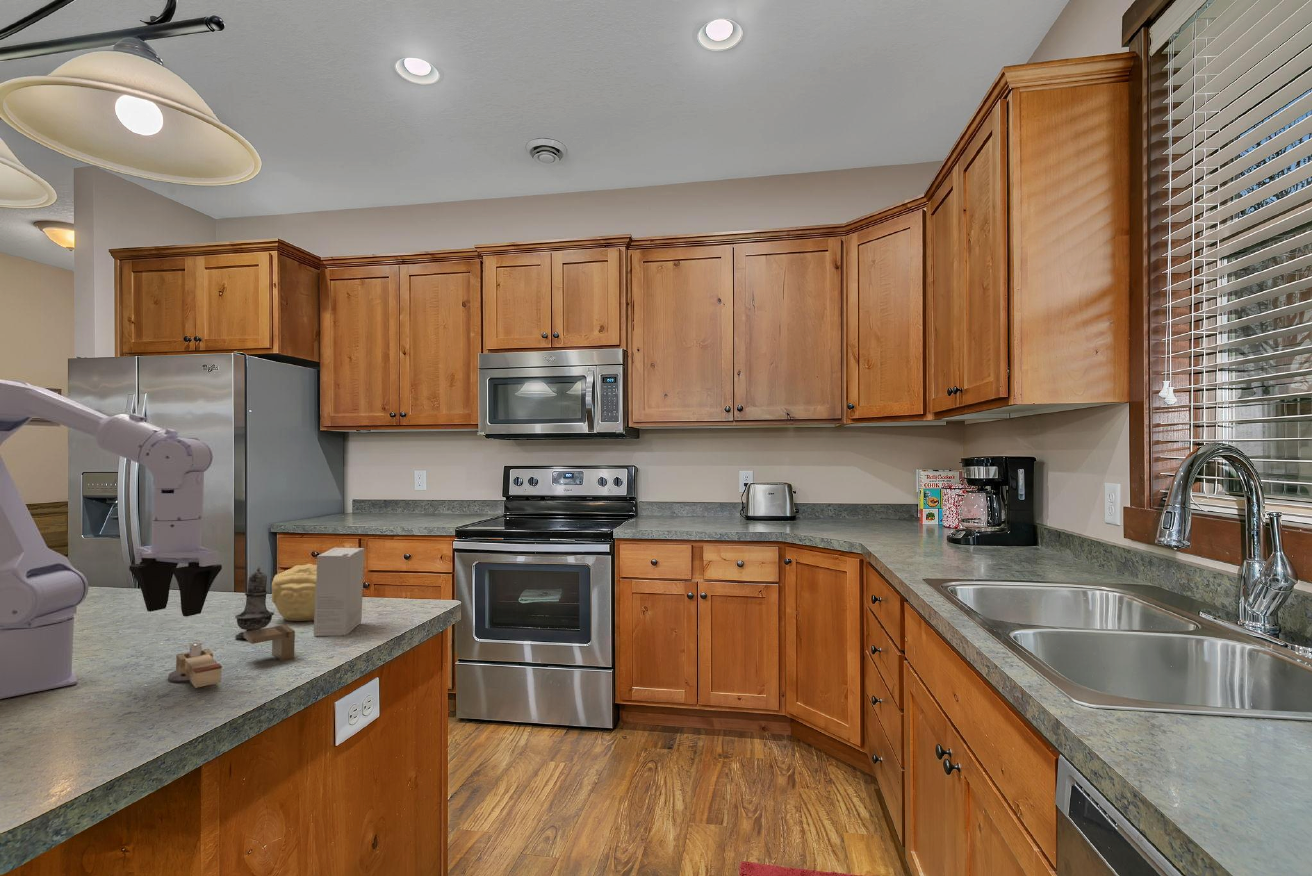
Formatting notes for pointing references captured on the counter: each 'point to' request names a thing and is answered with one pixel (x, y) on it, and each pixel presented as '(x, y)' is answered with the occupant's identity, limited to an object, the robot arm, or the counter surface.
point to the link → (199, 668)
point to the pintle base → (193, 652)
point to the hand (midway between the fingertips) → (174, 612)
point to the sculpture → (295, 592)
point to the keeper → (275, 640)
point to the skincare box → (338, 591)
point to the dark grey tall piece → (255, 605)
